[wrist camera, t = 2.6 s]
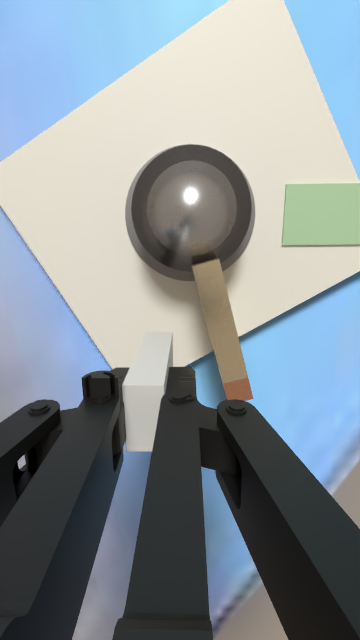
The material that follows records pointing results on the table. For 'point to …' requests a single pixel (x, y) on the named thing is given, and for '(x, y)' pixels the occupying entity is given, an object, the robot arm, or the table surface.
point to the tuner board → (197, 129)
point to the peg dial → (198, 237)
